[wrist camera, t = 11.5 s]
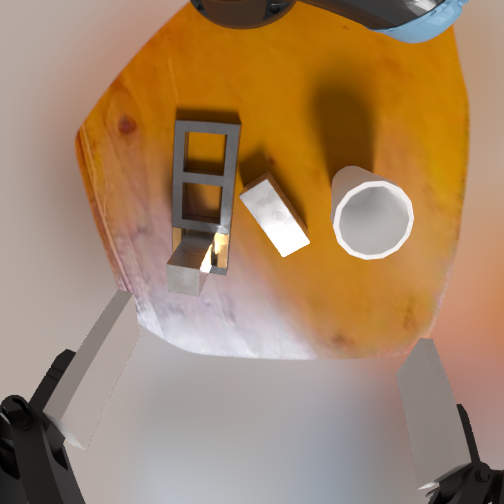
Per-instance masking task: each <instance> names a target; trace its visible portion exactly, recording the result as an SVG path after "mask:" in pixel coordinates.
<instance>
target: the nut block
mask: <svg viewBox="0 0 504 504" xmlns="http://www.w3.org/2000/svg"><path fill="white" fill-rule="evenodd" d="M239 197H240V198H241V200H242V201H243V202H244V204H245V205H246V207H247V208H248V209H249V211H250V212H251V213H252V215H253V216H254V217H255V219H256V220H257V222H258V223H259V224H260V226H261V227H262V228H263V230H264V231H265V233H266V234H267V235H268V237H269V238H270V239H271V241H272V242H273V244H274V245H275V246H276V248H277V249H278V251H279V252H280V253H281V255H282V256H283V257H284V256H286V255H288V254H290V253H291V252H293V251H295V250H297V249H299V248H301V247H303V246H305V245H306V244H308V243H310V240H309V233H308V229H307V227H306V226H305V224H304V223H303V221H302V220H301V218H300V217H299V215H298V213H297V212H296V210H295V209H294V207H293V206H292V204H291V203H290V201H289V200H288V198H287V197H286V195H285V194H284V193H283V191H282V190H281V188H280V187H279V185H278V184H277V182H276V181H275V179H274V178H273V176H272V175H271V174H270V172H269V171H268V172H266V173H264V174H263V175H261V176H260V177H258V178H257V179H255V180H253V181H252V182H250V183H249V184H247V185H245V186H244V187H243V189H242V191H241V193H240V196H239Z"/></svg>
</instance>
